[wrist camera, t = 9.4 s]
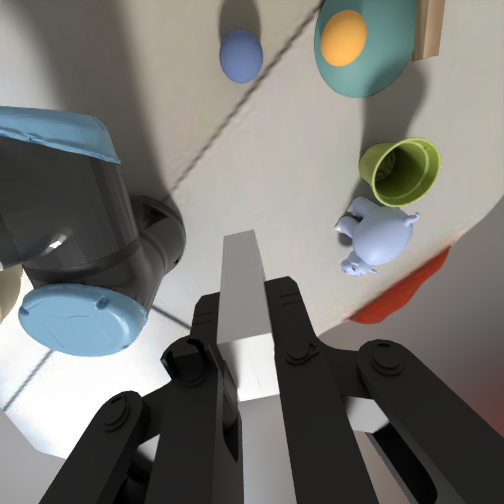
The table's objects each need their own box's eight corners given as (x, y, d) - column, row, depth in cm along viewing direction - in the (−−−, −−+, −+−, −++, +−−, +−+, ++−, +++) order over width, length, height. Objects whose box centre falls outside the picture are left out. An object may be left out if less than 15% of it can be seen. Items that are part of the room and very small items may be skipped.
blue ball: (267, 69, 31) (268, 77, 36) (253, 12, 29) (257, 30, 34) (224, 86, 32) (231, 92, 37) (208, 33, 30) (218, 46, 35)
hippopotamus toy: (316, 251, 51) (333, 279, 43) (364, 181, 45) (394, 199, 37) (359, 270, 54) (382, 299, 46) (410, 207, 48) (447, 229, 40)
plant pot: (345, 141, 41) (371, 149, 34) (405, 123, 41) (445, 128, 33) (350, 196, 46) (373, 214, 39) (404, 181, 45) (438, 197, 38)
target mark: (318, 107, 39) (318, 107, 39) (309, -21, 32) (310, -22, 32) (413, 85, 38) (414, 85, 38) (425, -51, 31) (426, -52, 31)
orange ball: (369, 58, 31) (363, 61, 36) (370, -3, 28) (363, 8, 33) (322, 70, 33) (322, 72, 37) (318, 14, 30) (319, 22, 35)
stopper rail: (411, 61, 37) (423, 58, 35) (418, -16, 33) (431, -25, 31) (426, 57, 37) (438, 55, 34) (434, -20, 33) (448, -29, 31)
